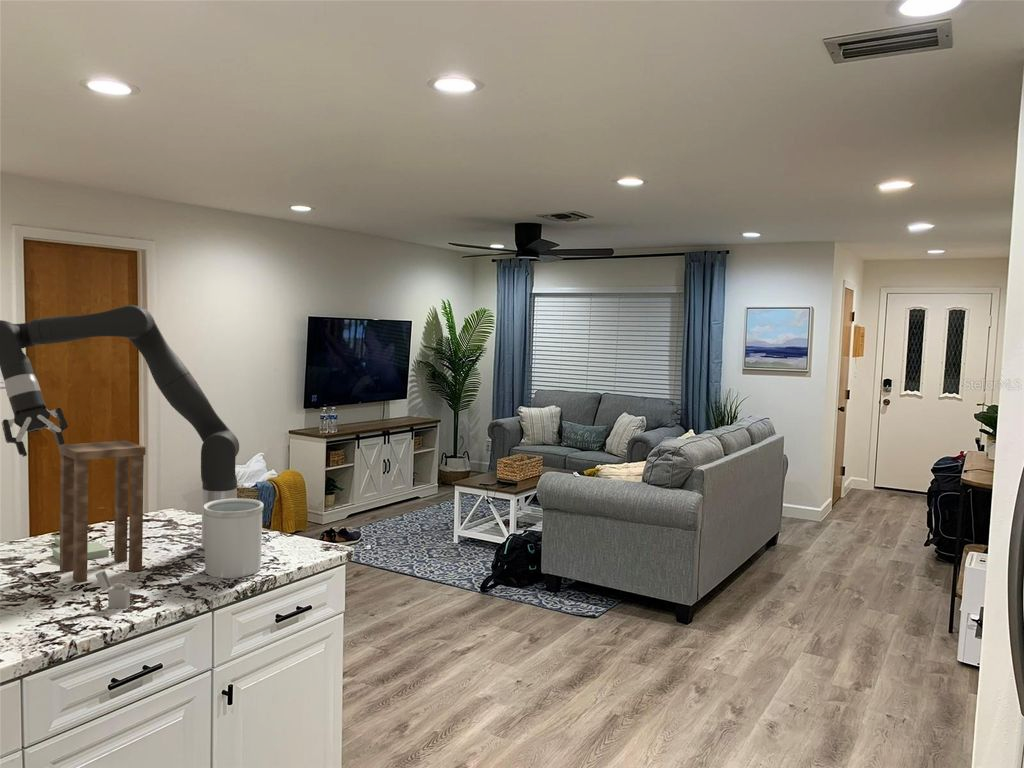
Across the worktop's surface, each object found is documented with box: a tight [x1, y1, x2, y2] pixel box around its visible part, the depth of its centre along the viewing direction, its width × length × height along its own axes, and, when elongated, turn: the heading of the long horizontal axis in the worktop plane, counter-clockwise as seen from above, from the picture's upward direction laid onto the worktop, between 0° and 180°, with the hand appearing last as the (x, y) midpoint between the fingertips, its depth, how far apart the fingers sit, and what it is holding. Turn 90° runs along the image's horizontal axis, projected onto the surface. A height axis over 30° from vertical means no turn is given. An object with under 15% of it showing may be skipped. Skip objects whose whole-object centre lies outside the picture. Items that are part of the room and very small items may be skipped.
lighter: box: [95, 570, 131, 610], centre depth 171 cm, size 7×2×8 cm, turn 89°
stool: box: [58, 440, 147, 583], centre depth 194 cm, size 16×13×32 cm
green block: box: [52, 535, 110, 562], centre depth 210 cm, size 11×20×2 cm, turn 47°
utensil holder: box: [203, 498, 265, 579], centre depth 199 cm, size 15×15×18 cm
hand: (43, 451), depth 203 cm, fingers open, 8 cm apart
